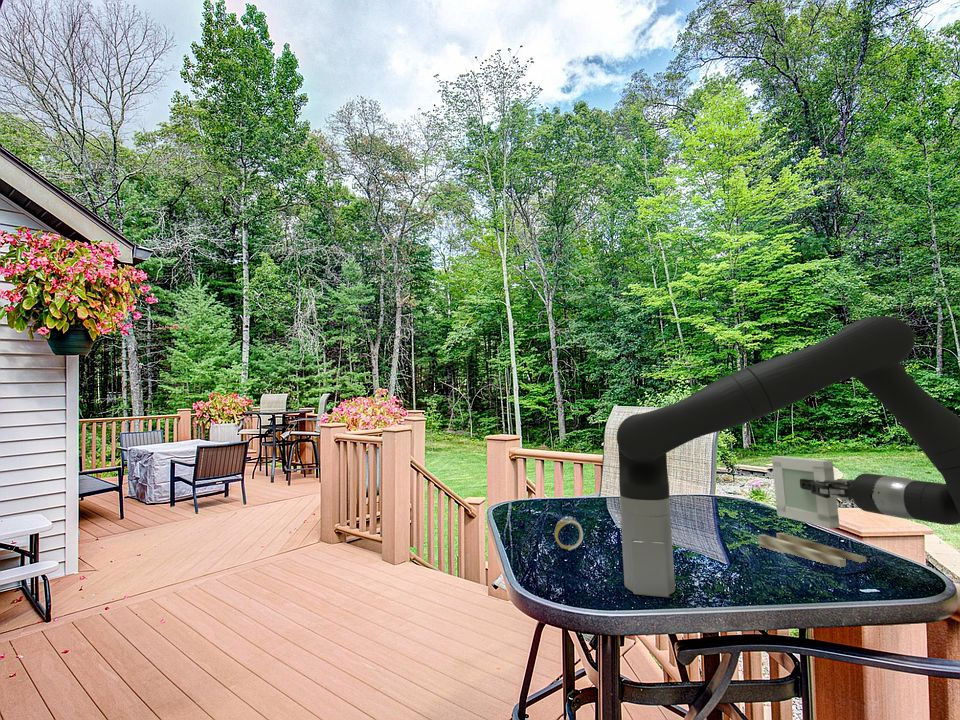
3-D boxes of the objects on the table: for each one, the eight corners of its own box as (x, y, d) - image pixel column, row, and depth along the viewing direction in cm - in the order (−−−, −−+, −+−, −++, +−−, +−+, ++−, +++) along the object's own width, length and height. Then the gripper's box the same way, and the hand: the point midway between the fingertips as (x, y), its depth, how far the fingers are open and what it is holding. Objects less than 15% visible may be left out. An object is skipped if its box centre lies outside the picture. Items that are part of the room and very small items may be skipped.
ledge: (867, 571, 95) (865, 556, 95) (841, 575, 93) (839, 560, 94) (782, 545, 114) (781, 532, 115) (759, 547, 113) (758, 534, 113)
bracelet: (582, 547, 115) (580, 514, 116) (584, 551, 112) (583, 517, 113) (554, 548, 115) (553, 515, 116) (556, 552, 112) (555, 518, 113)
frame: (839, 527, 99) (832, 460, 100) (830, 528, 98) (823, 461, 100) (785, 514, 111) (780, 455, 113) (777, 515, 111) (771, 456, 112)
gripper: (914, 473, 90) (828, 464, 107) (860, 477, 87) (780, 467, 103) (919, 513, 89) (832, 498, 106) (865, 518, 86) (783, 502, 103)
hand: (806, 483), depth 105 cm, fingers closed on frame, 2 cm apart
